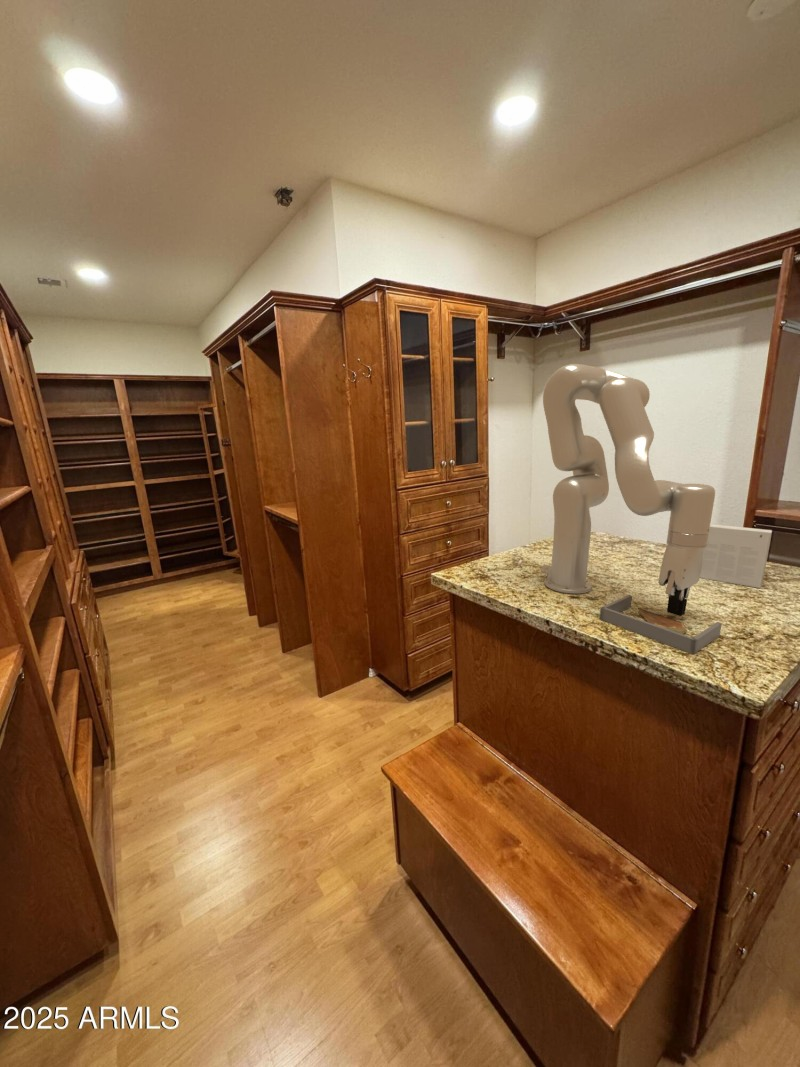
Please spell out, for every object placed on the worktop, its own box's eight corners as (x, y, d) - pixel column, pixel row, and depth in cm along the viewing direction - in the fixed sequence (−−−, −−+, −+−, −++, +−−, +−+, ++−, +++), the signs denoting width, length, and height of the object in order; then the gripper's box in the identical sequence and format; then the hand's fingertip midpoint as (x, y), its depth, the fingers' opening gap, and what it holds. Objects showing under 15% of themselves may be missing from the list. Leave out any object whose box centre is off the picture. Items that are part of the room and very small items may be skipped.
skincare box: (762, 583, 116) (773, 529, 112) (761, 589, 112) (772, 533, 109) (674, 568, 130) (682, 520, 126) (671, 573, 126) (678, 523, 123)
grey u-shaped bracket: (599, 619, 97) (600, 607, 96) (627, 605, 104) (629, 594, 103) (693, 654, 81) (695, 640, 80) (719, 635, 88) (721, 623, 87)
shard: (636, 613, 101) (637, 606, 100) (671, 616, 99) (672, 609, 98) (652, 633, 90) (653, 626, 90) (691, 637, 89) (692, 629, 88)
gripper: (684, 531, 99) (674, 601, 104) (652, 540, 92) (642, 615, 96) (720, 537, 93) (708, 611, 98) (689, 547, 86) (677, 627, 90)
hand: (675, 613), depth 97 cm, fingers closed
